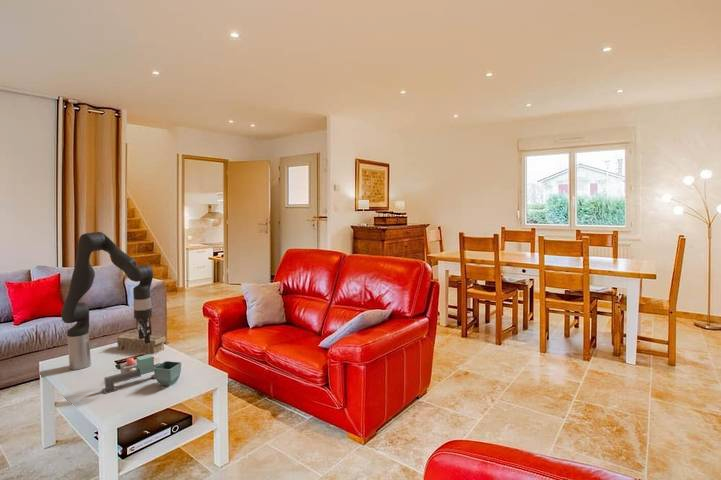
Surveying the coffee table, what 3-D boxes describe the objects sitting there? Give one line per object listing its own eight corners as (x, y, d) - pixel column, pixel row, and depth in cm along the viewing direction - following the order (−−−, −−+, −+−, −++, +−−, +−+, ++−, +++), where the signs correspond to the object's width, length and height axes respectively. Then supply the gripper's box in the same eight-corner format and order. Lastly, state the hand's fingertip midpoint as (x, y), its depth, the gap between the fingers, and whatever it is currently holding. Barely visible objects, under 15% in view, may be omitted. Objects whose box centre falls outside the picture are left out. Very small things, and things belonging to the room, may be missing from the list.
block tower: (116, 351, 240) (155, 354, 231) (114, 337, 240) (154, 339, 231) (127, 346, 248) (166, 349, 239) (126, 332, 247) (165, 335, 238)
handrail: (101, 390, 187) (101, 377, 186) (162, 373, 205) (161, 361, 204) (104, 393, 183) (103, 380, 182) (165, 376, 201) (165, 364, 201)
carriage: (137, 371, 197) (136, 357, 196) (150, 367, 201) (149, 354, 200) (140, 374, 193) (139, 360, 192) (154, 370, 197) (153, 356, 197)
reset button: (125, 367, 201) (125, 359, 201) (133, 365, 204) (132, 357, 203) (127, 369, 199) (127, 360, 199) (135, 367, 201) (134, 359, 201)
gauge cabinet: (121, 376, 202) (120, 364, 201) (136, 372, 207) (136, 360, 206) (125, 380, 196) (124, 368, 196) (141, 376, 201) (140, 364, 201)
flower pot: (170, 388, 188) (169, 369, 187) (153, 387, 189) (152, 368, 189) (182, 380, 196) (181, 362, 196) (166, 379, 198) (165, 360, 197)
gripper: (129, 306, 197) (131, 339, 198) (138, 311, 186) (140, 346, 188) (146, 303, 202) (147, 335, 203) (156, 308, 192) (157, 342, 193)
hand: (144, 341), depth 196 cm, fingers open, 8 cm apart
